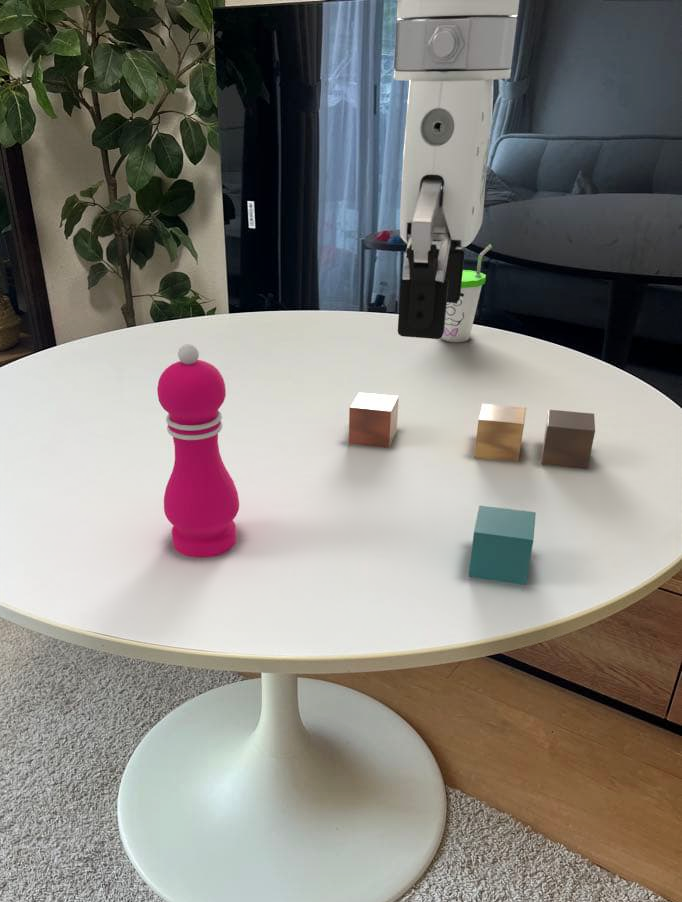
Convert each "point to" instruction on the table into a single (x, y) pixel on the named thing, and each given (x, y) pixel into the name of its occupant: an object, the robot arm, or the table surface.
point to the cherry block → (373, 420)
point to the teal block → (502, 544)
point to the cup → (464, 305)
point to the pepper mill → (197, 458)
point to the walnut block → (568, 439)
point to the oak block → (500, 432)
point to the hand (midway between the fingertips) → (430, 317)
